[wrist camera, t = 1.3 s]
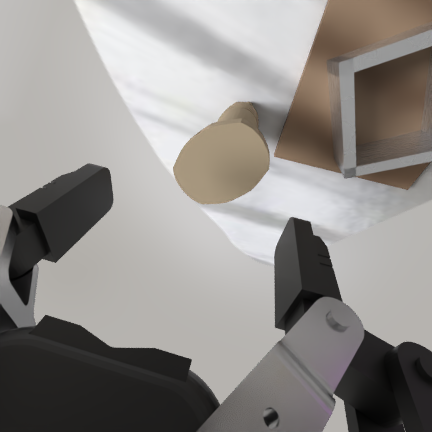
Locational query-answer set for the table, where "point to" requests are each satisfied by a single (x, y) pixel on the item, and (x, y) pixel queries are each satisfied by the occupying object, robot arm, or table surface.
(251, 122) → the handle
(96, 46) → the table surface
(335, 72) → the collar
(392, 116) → the walnut board
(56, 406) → the robot arm
